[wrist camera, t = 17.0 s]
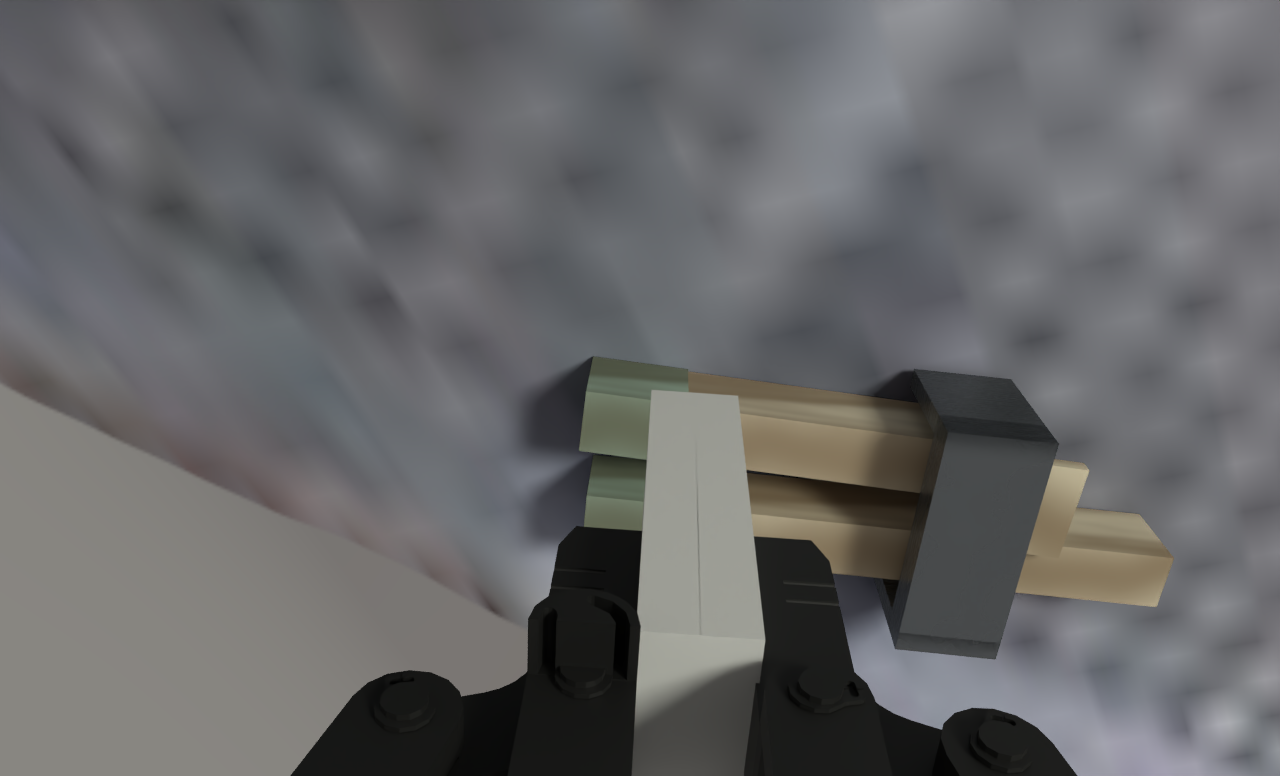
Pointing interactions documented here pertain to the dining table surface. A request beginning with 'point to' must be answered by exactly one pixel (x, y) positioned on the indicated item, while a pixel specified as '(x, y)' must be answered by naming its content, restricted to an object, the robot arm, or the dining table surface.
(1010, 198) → the dining table surface
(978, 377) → the collar
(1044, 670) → the dining table surface
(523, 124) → the dining table surface
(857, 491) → the bar
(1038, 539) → the tongs jaw
